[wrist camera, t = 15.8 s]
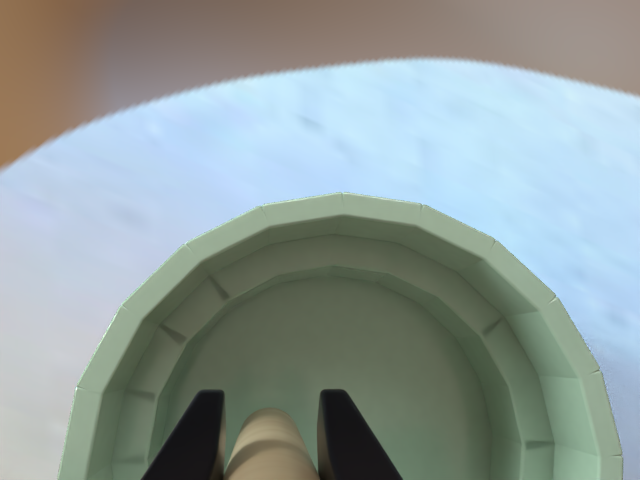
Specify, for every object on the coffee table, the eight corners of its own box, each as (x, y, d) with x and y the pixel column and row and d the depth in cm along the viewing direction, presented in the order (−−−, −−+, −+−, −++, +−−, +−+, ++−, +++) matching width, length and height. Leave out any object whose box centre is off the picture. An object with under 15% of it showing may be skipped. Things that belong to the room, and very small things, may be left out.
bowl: (572, 609, 18) (689, 705, 13) (147, 717, 16) (97, 873, 11) (477, 206, 20) (547, 158, 15) (92, 270, 18) (29, 240, 13)
